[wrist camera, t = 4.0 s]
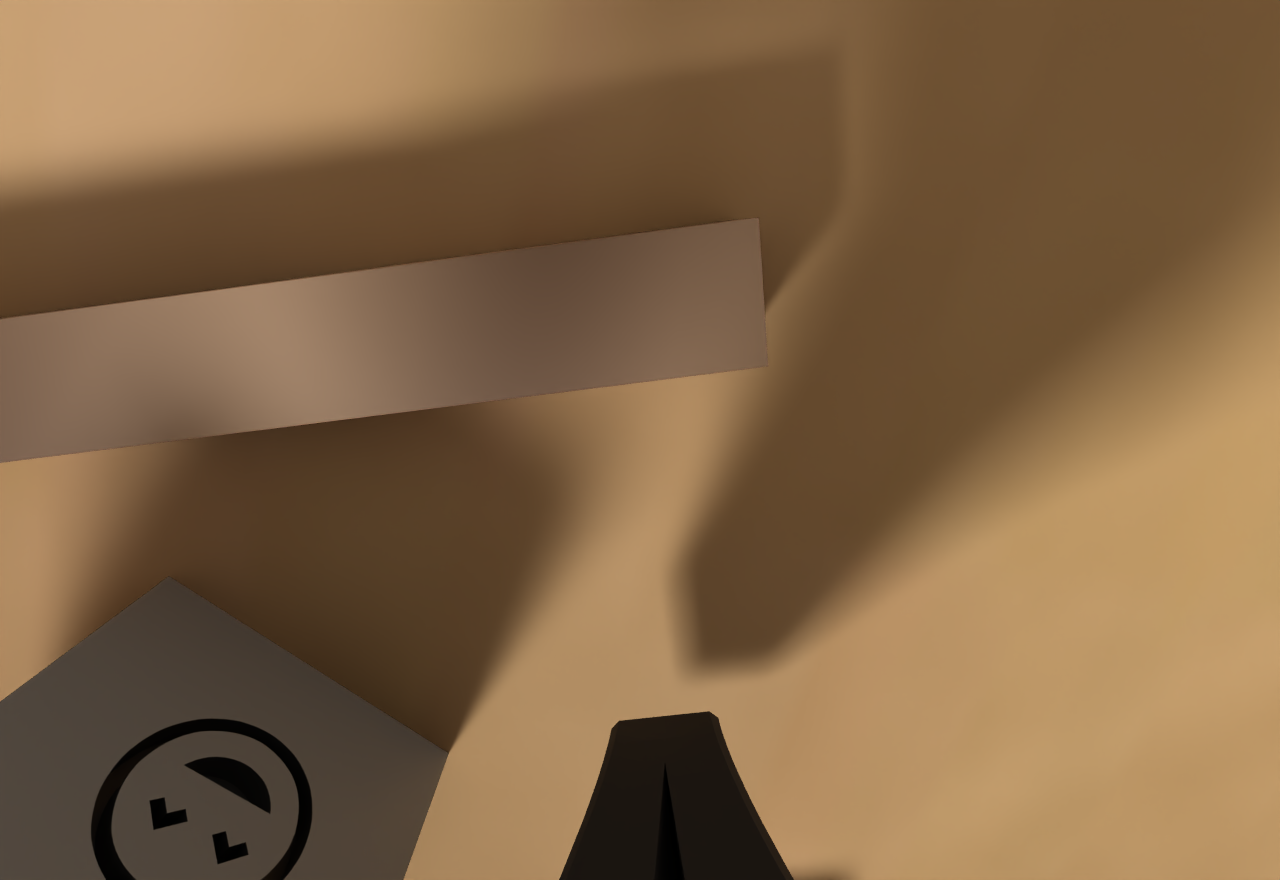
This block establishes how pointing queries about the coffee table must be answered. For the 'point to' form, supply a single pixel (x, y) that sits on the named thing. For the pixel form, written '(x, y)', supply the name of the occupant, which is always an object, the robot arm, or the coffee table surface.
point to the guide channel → (384, 340)
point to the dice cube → (203, 760)
